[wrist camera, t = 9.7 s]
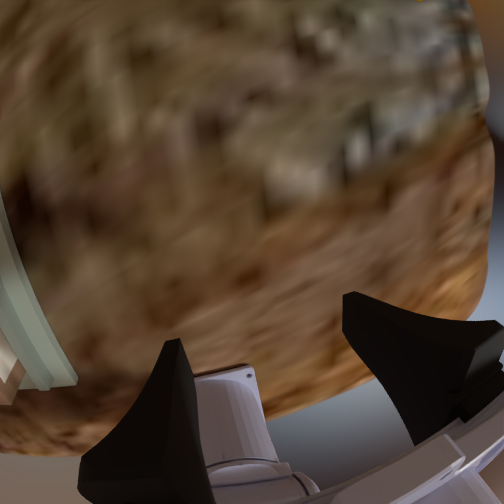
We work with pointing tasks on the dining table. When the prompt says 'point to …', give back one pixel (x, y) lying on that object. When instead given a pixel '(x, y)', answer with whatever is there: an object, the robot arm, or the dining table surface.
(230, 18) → the dining table surface
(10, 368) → the brown box
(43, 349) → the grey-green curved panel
